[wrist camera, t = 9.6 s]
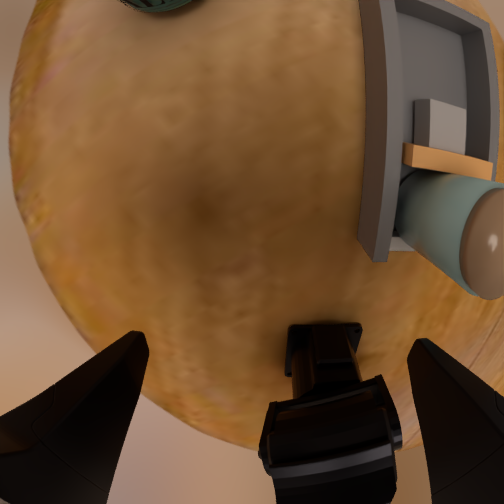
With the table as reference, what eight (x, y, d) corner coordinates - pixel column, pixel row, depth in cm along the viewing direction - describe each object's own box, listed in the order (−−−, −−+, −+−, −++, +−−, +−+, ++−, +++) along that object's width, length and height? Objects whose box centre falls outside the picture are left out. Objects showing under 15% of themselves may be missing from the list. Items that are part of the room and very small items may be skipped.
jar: (450, 251, 17) (518, 299, 9) (388, 248, 17) (451, 307, 9) (460, 175, 15) (541, 195, 7) (396, 164, 15) (477, 175, 8)
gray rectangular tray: (453, 241, 18) (477, 261, 15) (356, 238, 19) (372, 261, 16) (462, 31, 11) (489, 23, 7) (358, -4, 11) (374, -24, 8)
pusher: (462, 169, 15) (490, 181, 12) (387, 157, 15) (412, 166, 12) (465, 114, 13) (495, 118, 10) (389, 94, 14) (414, 90, 11)
